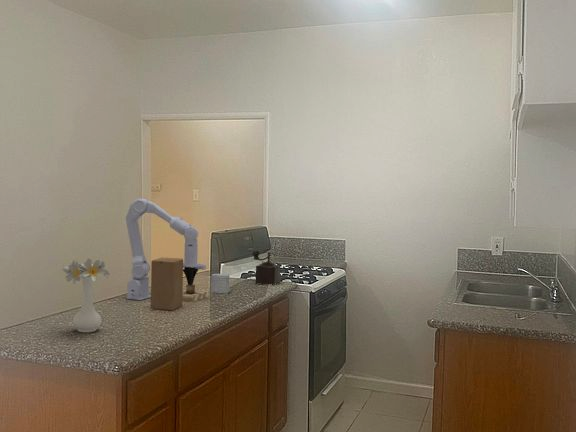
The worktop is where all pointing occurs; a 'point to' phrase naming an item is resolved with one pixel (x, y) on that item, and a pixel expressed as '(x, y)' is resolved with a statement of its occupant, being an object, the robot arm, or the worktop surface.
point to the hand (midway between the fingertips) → (190, 284)
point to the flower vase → (86, 292)
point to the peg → (190, 289)
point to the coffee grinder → (266, 270)
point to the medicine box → (220, 283)
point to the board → (194, 295)
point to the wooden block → (166, 283)
